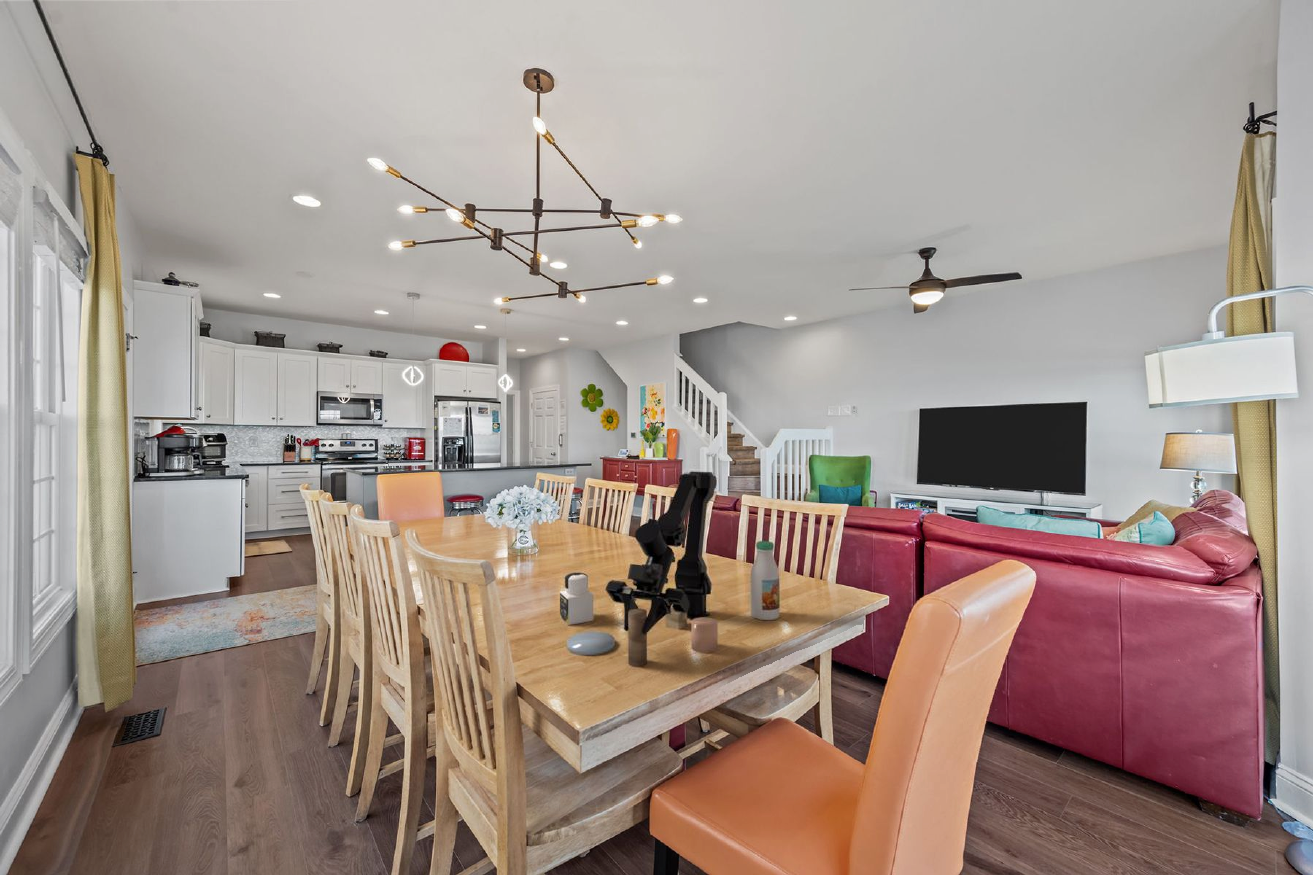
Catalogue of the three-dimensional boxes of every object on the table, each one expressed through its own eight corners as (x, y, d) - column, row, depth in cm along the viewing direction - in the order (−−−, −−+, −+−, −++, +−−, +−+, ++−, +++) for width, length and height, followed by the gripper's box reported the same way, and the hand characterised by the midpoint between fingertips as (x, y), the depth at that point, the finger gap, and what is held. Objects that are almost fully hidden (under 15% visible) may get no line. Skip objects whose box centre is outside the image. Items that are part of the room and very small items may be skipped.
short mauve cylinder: (706, 640, 125) (706, 615, 125) (723, 649, 120) (723, 623, 120) (686, 646, 122) (686, 620, 122) (702, 655, 117) (702, 628, 117)
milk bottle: (750, 620, 139) (750, 544, 139) (750, 610, 147) (750, 539, 146) (780, 621, 138) (780, 545, 138) (778, 612, 145) (778, 539, 145)
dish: (600, 633, 130) (600, 628, 130) (623, 647, 121) (623, 642, 121) (559, 643, 124) (559, 637, 124) (580, 659, 115) (580, 653, 115)
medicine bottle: (559, 617, 142) (559, 572, 142) (584, 612, 145) (584, 569, 145) (567, 625, 135) (567, 579, 135) (593, 621, 139) (593, 575, 138)
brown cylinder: (640, 657, 116) (640, 607, 116) (650, 663, 113) (650, 612, 113) (624, 661, 114) (624, 610, 114) (634, 668, 110) (634, 616, 110)
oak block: (673, 622, 138) (673, 606, 138) (686, 625, 136) (686, 609, 136) (665, 626, 135) (665, 611, 135) (678, 629, 132) (678, 614, 132)
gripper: (609, 544, 121) (582, 607, 111) (684, 552, 113) (663, 620, 103) (626, 571, 128) (602, 631, 118) (697, 580, 120) (678, 646, 110)
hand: (634, 631), depth 112 cm, fingers closed on brown cylinder, 4 cm apart
